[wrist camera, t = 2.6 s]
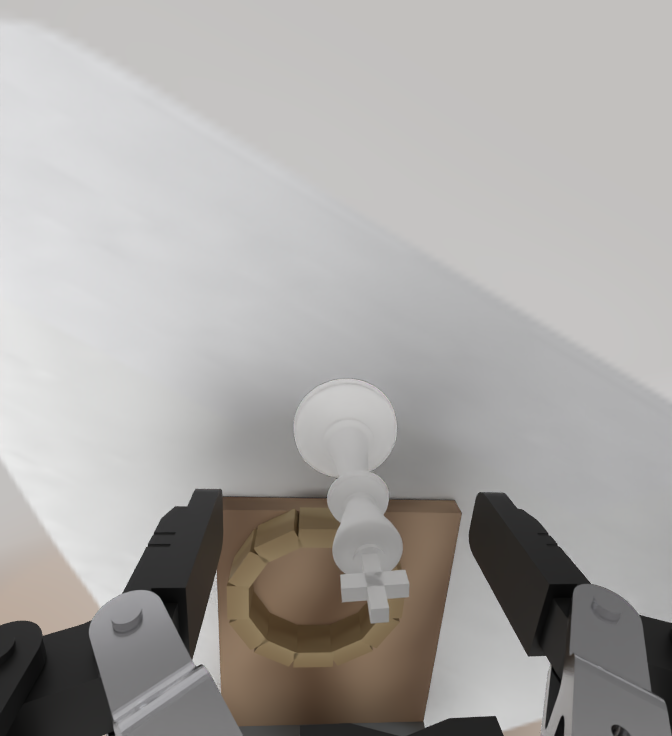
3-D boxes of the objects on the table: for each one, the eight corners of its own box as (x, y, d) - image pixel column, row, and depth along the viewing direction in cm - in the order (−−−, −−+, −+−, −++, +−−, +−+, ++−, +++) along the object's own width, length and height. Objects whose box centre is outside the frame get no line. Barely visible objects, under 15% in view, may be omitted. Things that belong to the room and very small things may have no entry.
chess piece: (290, 380, 18) (264, 536, 8) (396, 375, 18) (492, 520, 8) (296, 474, 19) (281, 698, 10) (395, 468, 19) (475, 681, 10)
